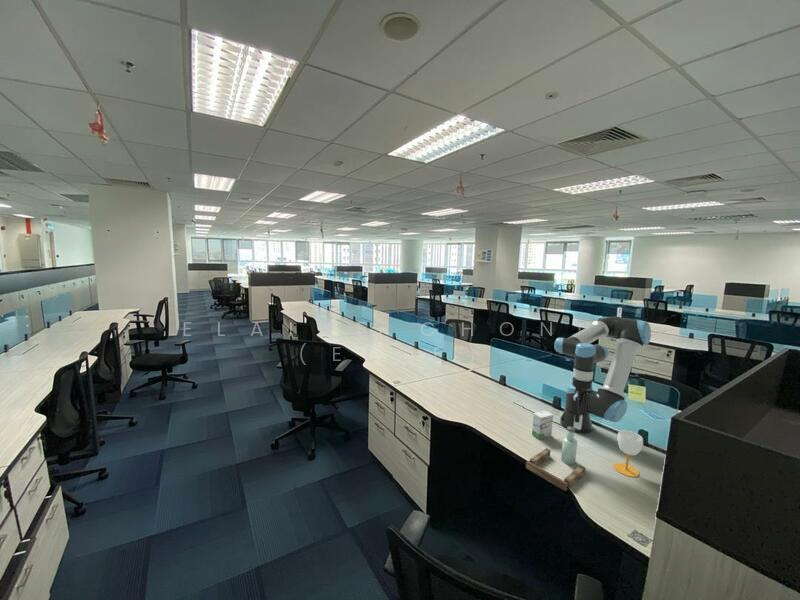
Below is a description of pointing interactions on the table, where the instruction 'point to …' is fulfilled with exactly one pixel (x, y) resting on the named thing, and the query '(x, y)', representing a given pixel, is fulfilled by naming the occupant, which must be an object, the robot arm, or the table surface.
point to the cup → (628, 451)
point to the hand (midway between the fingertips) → (577, 428)
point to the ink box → (542, 424)
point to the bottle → (569, 447)
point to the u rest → (548, 476)
